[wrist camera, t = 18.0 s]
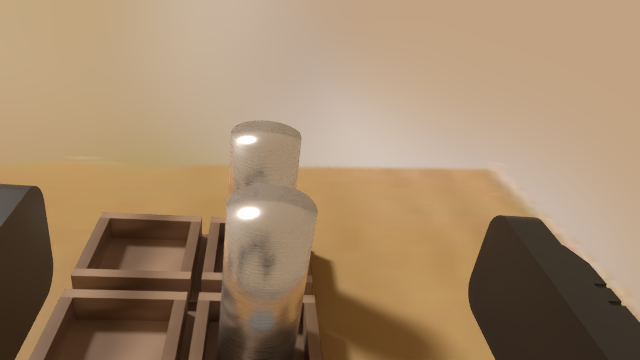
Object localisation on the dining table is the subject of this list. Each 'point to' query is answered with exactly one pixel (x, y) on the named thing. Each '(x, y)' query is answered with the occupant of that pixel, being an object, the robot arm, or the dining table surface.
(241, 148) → the cylinder
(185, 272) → the tray
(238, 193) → the steel billet
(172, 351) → the tray
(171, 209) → the dining table surface
